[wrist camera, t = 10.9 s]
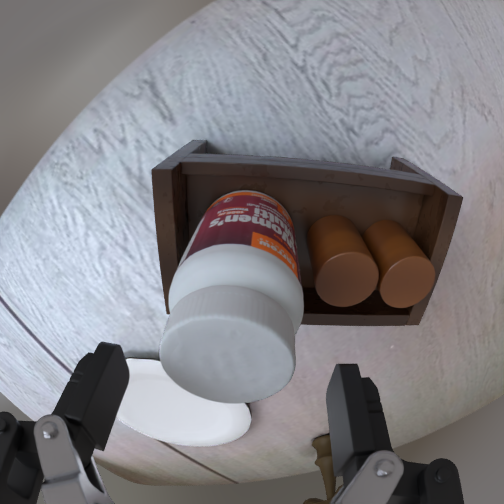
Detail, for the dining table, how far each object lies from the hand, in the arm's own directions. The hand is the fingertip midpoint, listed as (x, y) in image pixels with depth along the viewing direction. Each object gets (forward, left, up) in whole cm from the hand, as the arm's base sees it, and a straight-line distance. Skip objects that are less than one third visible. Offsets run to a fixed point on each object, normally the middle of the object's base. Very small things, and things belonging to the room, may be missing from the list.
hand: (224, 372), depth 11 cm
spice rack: (0, +4, -19) cm, 19 cm away
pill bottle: (0, 0, -12) cm, 12 cm away
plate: (+33, -11, -19) cm, 39 cm away
